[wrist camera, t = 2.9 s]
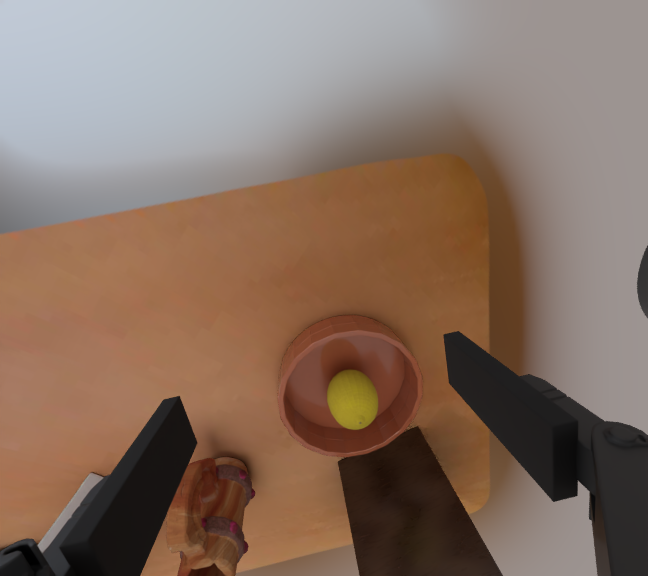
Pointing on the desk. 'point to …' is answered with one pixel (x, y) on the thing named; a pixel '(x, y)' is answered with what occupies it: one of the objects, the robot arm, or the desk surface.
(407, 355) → the bowl
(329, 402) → the lemon
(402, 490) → the stand
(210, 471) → the mug
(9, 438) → the desk surface
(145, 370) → the desk surface
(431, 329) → the desk surface
